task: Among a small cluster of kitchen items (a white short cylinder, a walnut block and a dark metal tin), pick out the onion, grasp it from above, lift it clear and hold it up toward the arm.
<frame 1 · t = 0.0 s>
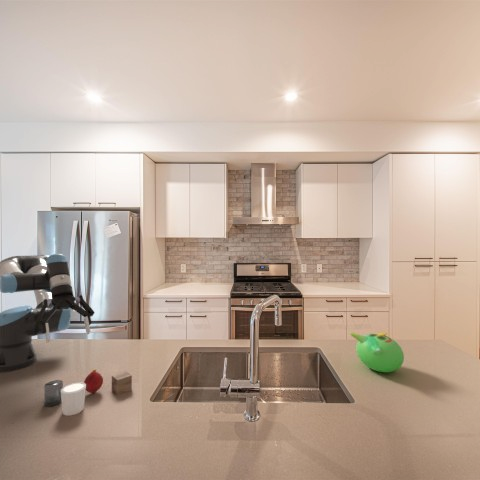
hand: (69, 336, 110), 15 cm above the countertop, tool tilted 35°, fingers open, 13 cm apart
onion: (93, 393, 98), on the countertop
metal tin: (53, 402, 92), on the countertop
walnut block: (121, 389, 101), on the countertop
toy bird: (378, 370, 117), on the countertop
white short cylinder: (73, 410, 88), on the countertop
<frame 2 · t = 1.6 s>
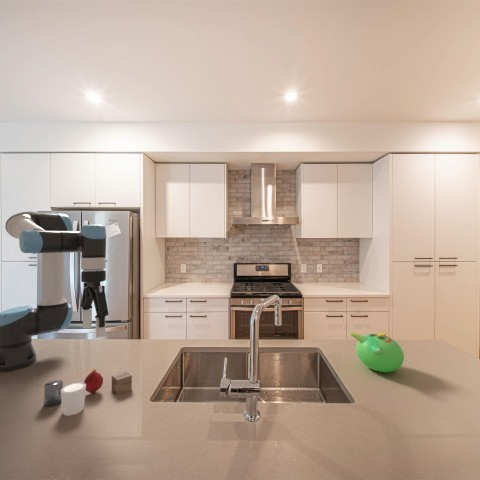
hand: (93, 332, 98), 21 cm above the countertop, tool pointing down, fingers open, 13 cm apart
nothing on the countertop moved.
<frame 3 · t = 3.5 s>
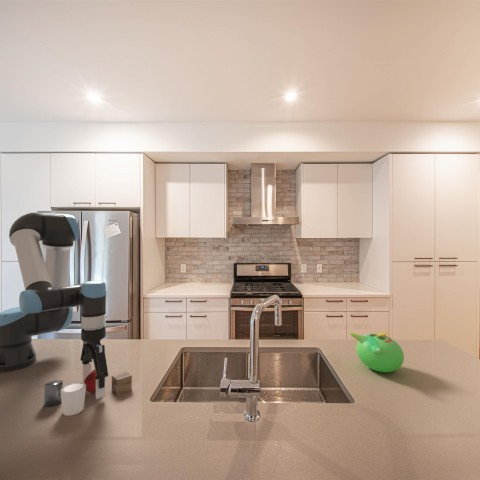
hand: (93, 389, 98), 1 cm above the countertop, tool pointing down, fingers open, 13 cm apart
nothing on the countertop moved.
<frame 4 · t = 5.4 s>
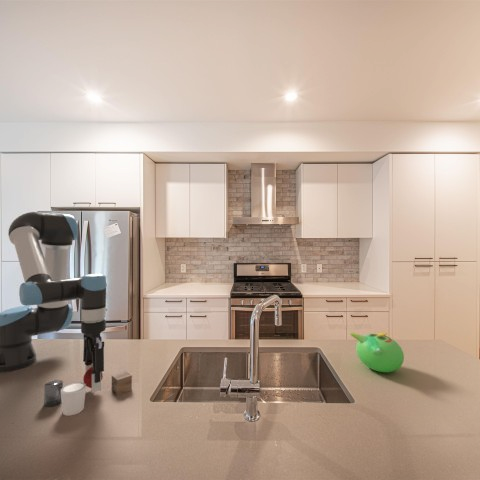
hand: (92, 387, 98), 2 cm above the countertop, tool pointing down, fingers closed on onion, 6 cm apart
onion: (92, 388, 98), point 1 cm above the countertop, touching gripper
everything else where it was.
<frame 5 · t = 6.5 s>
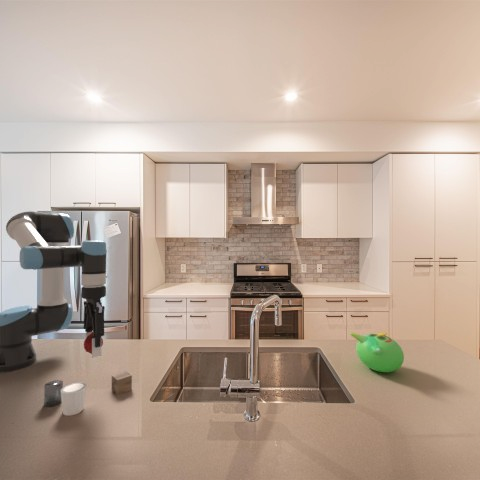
hand: (93, 353, 98), 14 cm above the countertop, tool pointing down, fingers closed on onion, 6 cm apart
onion: (93, 354, 98), point 13 cm above the countertop, touching gripper
everything else where it was.
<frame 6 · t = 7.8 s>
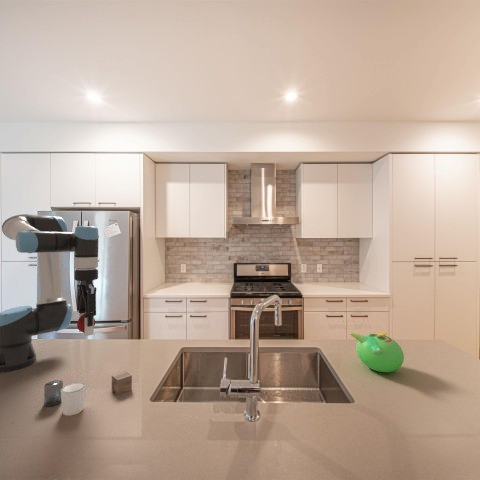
hand: (86, 332, 104), 19 cm above the countertop, tool pointing down, fingers closed on onion, 6 cm apart
onion: (86, 334, 104), point 18 cm above the countertop, touching gripper
everything else where it was.
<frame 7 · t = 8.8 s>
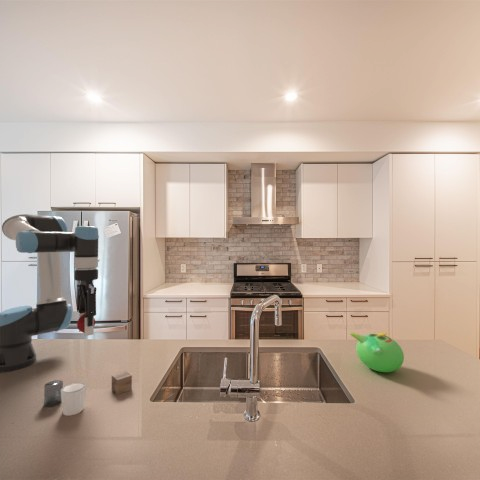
hand: (86, 332, 104), 19 cm above the countertop, tool pointing down, fingers closed on onion, 6 cm apart
onion: (86, 334, 104), point 18 cm above the countertop, touching gripper
everything else where it was.
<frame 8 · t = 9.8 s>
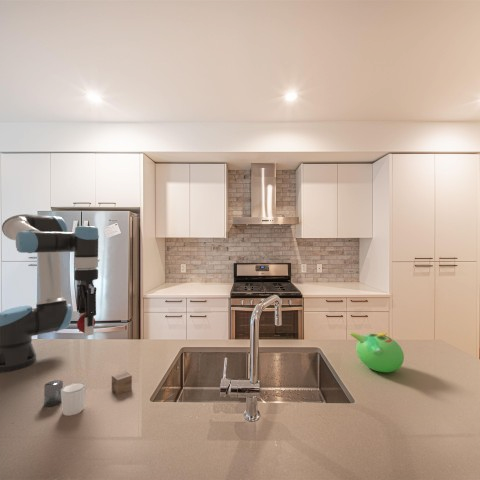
hand: (86, 332, 104), 19 cm above the countertop, tool pointing down, fingers closed on onion, 6 cm apart
onion: (86, 334, 104), point 18 cm above the countertop, touching gripper
everything else where it was.
at the end: the gripper is holding onion; onion point 18.3 cm above the countertop; white short cylinder moved 0.2 cm from its start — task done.
